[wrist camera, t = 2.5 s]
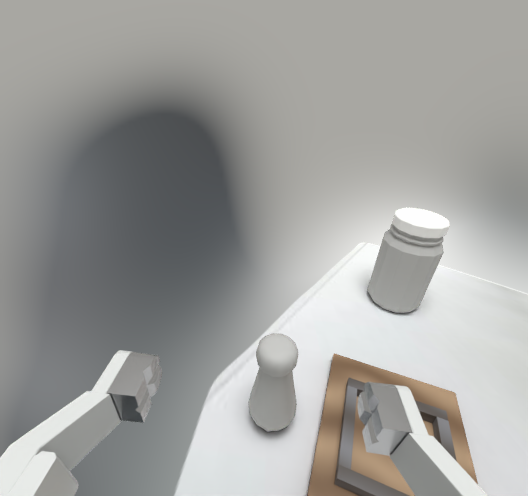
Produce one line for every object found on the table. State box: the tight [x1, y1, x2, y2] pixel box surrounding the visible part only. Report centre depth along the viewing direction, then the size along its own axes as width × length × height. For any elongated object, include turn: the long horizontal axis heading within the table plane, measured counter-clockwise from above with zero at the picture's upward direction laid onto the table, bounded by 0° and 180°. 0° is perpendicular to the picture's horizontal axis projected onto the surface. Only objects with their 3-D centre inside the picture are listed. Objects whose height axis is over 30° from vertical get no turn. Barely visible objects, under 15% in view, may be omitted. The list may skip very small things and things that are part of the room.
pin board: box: [307, 354, 478, 496], centre depth 30 cm, size 20×16×3 cm
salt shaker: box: [249, 333, 298, 432], centre depth 30 cm, size 6×6×13 cm
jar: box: [367, 208, 450, 313], centre depth 49 cm, size 10×10×18 cm
